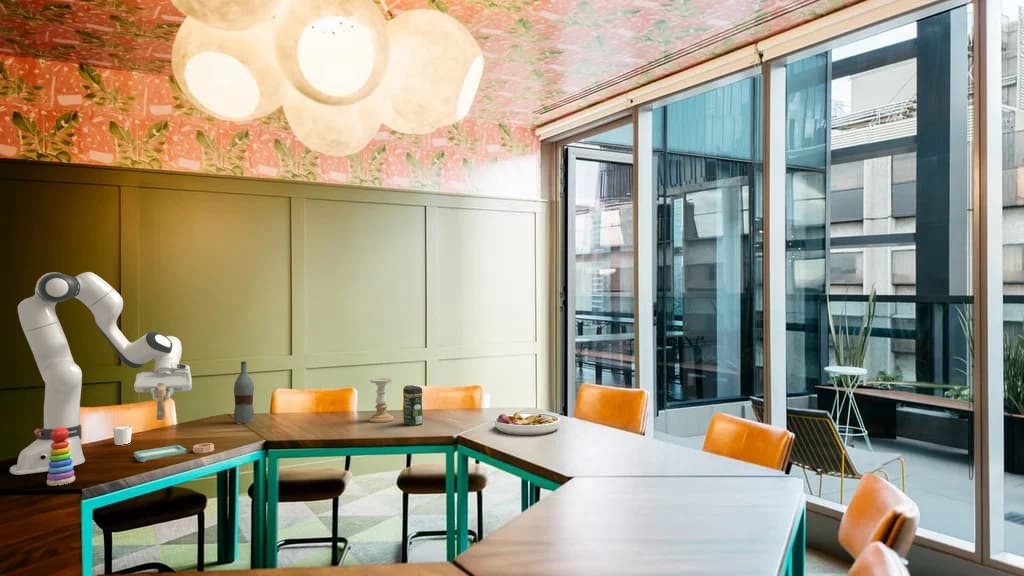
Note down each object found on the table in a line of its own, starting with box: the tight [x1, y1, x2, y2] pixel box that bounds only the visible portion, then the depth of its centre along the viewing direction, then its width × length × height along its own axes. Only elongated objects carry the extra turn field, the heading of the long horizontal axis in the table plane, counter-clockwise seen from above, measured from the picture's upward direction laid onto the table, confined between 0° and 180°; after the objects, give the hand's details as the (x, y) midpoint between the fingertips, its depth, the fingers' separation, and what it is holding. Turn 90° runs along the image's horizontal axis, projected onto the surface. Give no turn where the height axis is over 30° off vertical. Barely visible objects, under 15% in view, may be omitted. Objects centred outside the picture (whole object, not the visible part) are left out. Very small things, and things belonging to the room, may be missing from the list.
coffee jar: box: [402, 384, 424, 427], centre depth 307 cm, size 10×8×19 cm
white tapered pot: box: [112, 425, 133, 446], centre depth 271 cm, size 7×7×7 cm
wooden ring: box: [192, 442, 215, 454], centre depth 254 cm, size 7×7×3 cm
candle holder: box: [368, 378, 395, 424], centre depth 317 cm, size 12×12×20 cm
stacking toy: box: [46, 427, 76, 487], centre depth 215 cm, size 8×8×19 cm
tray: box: [133, 444, 188, 463], centre depth 249 cm, size 16×11×2 cm
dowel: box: [156, 383, 167, 421], centre depth 250 cm, size 3×3×14 cm
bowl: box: [494, 412, 561, 436], centre depth 293 cm, size 30×30×8 cm
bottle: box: [233, 361, 255, 424], centre depth 315 cm, size 9×9×30 cm
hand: (161, 398), depth 249 cm, fingers closed on dowel, 3 cm apart
